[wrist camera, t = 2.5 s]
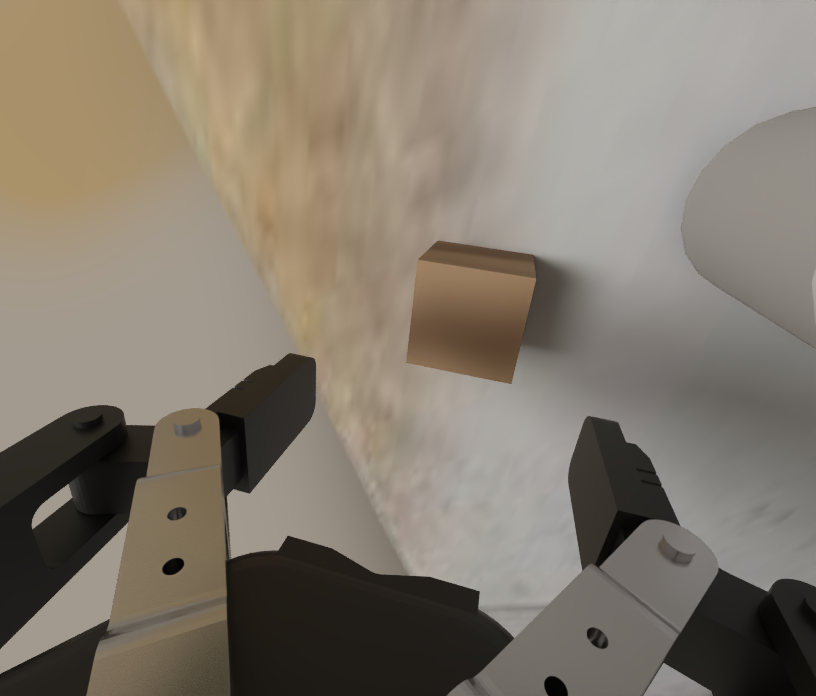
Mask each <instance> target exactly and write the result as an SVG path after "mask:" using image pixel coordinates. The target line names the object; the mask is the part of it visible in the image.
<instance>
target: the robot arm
mask: <svg viewBox="0 0 816 696" xmlns="http://www.w3.org/2000/svg"><path fill="white" fill-rule="evenodd" d="M315 401H316V362H315V359H314V358H311V357H306V356H302V355H297V354H292V353H290V354H288V355H286V356H285V357H284V358H283V359H281V360H280V361H279V362H278V363H276V364H275V365H274V366H273V365H269V366H266V367H263V368H261V369H259V370H256V371H254V372H253V373H251V374H250V375H249V376H248V377H246V378H245V379H244V381H241V382H240V383H238V384H237V385H236V386H235V388H232V389H231V390H229V391H228V392H227V393H225V394H224V395H223V396H222V397H220V398H219V399H218V400H216V401H215V402H214V403H212V404H211V405H210V406H209V407H207V408H206V409H200V408H193V409H185V410H180V411H176V412H174V413H171V414H169V415H167V416H165V417H163V418H162V419H161V420H160V421H159V422H158V423H157V424H156V426H141V425H139V426H138V425H126V422H125V418H124V413H123V411H122V410H121V409H119V408H117V407H114V406H108V405H97V406H90V407H85V408H81V409H78V410H75V411H72V412H70V413H67V414H65V415H63V416H62V417H60V418H58V419H56V420H55V421H53V422H51V423H50V424H48V425H46V426H45V427H43V428H41V429H40V430H38V431H36V432H35V433H33V434H31V435H29V436H28V437H26V438H24V439H23V440H21V441H19V442H18V443H16V444H14V445H12V446H11V447H9V448H7V449H6V450H4V451H2V452H0V649H1V648H2V647H3V646H4V645H5V644H6V643H7V642H8V641H9V640H10V639H11V638H12V637H13V635H15V634H16V632H18V631H19V630H20V629H21V628H22V627H23V626H24V625H25V624H26V623H27V622H28V621H29V620H30V619H31V618H32V617H33V616H34V615H35V614H36V613H37V612H38V611H39V610H40V609H41V608H42V607H43V606H44V605H45V604H46V603H47V602H48V601H49V600H50V599H51V598H52V597H53V596H54V595H55V594H56V593H57V592H58V591H59V590H60V589H61V588H62V587H63V586H64V585H65V584H66V583H67V582H68V581H69V580H70V579H71V578H72V577H73V576H74V575H75V574H76V573H77V572H78V571H79V570H80V569H81V568H82V567H83V566H84V565H85V564H86V563H87V562H89V561H90V560H91V559H92V558H93V557H94V556H95V554H97V553H98V552H99V551H100V550H101V549H102V548H103V547H104V546H105V544H107V543H108V542H109V541H110V540H111V539H112V538H113V537H114V536H115V535H116V534H117V533H118V531H120V530H121V529H122V528H123V527H124V526H125V525H126V524H127V523H128V527H127V532H126V538H125V543H124V548H123V553H122V558H121V564H120V569H119V574H118V579H117V584H116V590H115V595H114V600H113V605H112V610H111V615H110V619H109V620H107V621H105V622H103V623H101V624H99V625H97V626H95V627H93V628H91V629H89V630H87V631H85V632H83V633H81V634H79V635H77V636H75V637H73V638H71V639H69V640H67V641H65V642H63V643H61V644H59V645H57V646H55V647H53V648H51V649H49V650H47V651H45V652H43V653H41V654H39V655H37V656H35V657H33V658H31V659H29V660H27V661H25V662H23V663H21V664H19V665H17V666H15V667H13V668H11V669H10V670H7V671H5V672H3V673H1V674H0V696H643V695H644V693H645V692H646V690H647V689H648V687H649V685H650V684H651V682H652V680H653V679H654V677H655V676H656V674H657V672H658V671H659V669H660V668H661V666H662V664H663V663H665V664H667V665H668V666H670V667H672V668H673V669H675V670H677V671H678V672H680V673H682V674H684V675H685V676H687V677H689V678H690V679H692V680H694V681H695V682H697V683H699V684H700V685H702V686H704V687H705V688H707V689H709V690H711V691H712V694H713V696H816V587H815V586H812V585H810V584H807V583H805V582H802V581H798V580H794V579H780V580H777V581H776V582H775V583H774V584H773V585H772V587H771V588H770V590H769V591H768V592H767V591H765V590H763V589H761V588H758V587H756V586H754V585H752V584H750V583H748V582H746V581H744V580H742V579H739V578H737V577H735V576H733V575H731V574H729V573H727V572H725V571H723V570H722V569H720V568H718V562H717V559H716V557H715V555H714V554H713V552H712V551H711V550H710V548H709V547H708V546H707V545H706V544H705V543H704V542H703V541H702V540H701V539H700V538H698V537H697V536H696V535H694V534H693V533H691V532H690V531H688V530H686V529H685V528H683V527H681V526H680V524H679V522H678V520H677V517H676V515H675V513H674V511H673V509H672V506H671V504H670V502H669V500H668V498H667V495H666V493H665V491H664V489H663V488H662V487H661V485H662V484H661V482H660V480H659V478H658V476H657V475H656V471H655V469H654V467H653V465H652V462H651V460H650V458H649V457H648V456H647V455H646V454H645V453H644V452H643V451H642V450H641V449H640V448H639V447H638V446H637V445H636V444H632V443H627V442H626V441H625V439H624V436H623V434H622V431H621V428H620V426H619V424H618V422H615V421H610V420H606V419H601V418H596V417H591V416H588V417H586V419H585V421H584V423H583V426H582V429H581V432H580V435H579V438H578V441H577V444H576V447H575V450H574V453H573V456H572V459H571V462H570V467H569V474H568V483H569V490H570V496H571V502H572V509H573V515H574V521H575V527H576V534H577V540H578V546H579V552H580V559H581V565H582V572H581V573H580V574H579V575H578V576H577V577H576V578H575V579H574V580H573V581H572V582H571V583H570V584H569V585H568V586H567V587H566V588H565V589H564V590H563V591H562V592H561V593H560V594H559V595H558V596H557V597H556V598H555V599H554V600H553V601H552V602H551V603H550V604H549V605H548V606H547V607H546V608H545V609H544V610H543V611H542V612H541V613H540V614H539V615H538V616H537V617H536V618H534V619H533V620H532V621H531V622H530V623H529V624H528V625H527V626H526V627H525V628H524V629H523V630H522V631H521V632H520V633H519V634H518V635H517V636H516V637H515V638H514V637H513V636H512V635H511V634H510V633H509V632H508V631H507V630H506V629H505V628H503V627H502V626H501V625H500V624H499V623H498V622H497V621H495V620H494V619H492V618H491V617H490V616H488V615H487V614H485V613H484V612H482V611H480V610H479V609H478V604H479V593H480V591H476V590H473V589H470V588H466V587H463V586H459V585H456V584H452V583H449V582H445V581H442V580H439V579H435V578H432V577H422V576H401V575H381V574H375V573H373V572H371V571H369V570H368V569H366V568H364V567H362V566H361V565H359V564H357V563H356V562H354V561H352V560H351V559H349V558H347V557H346V556H344V555H342V554H340V553H339V552H337V551H335V550H334V549H332V548H328V547H325V546H322V545H318V544H315V543H311V542H308V541H304V540H301V539H297V538H294V537H290V536H287V538H286V539H285V541H284V543H283V544H282V546H281V547H280V549H279V551H261V552H255V553H249V554H245V555H242V556H238V557H236V558H233V559H231V550H230V549H231V548H230V532H229V518H228V503H227V495H228V494H229V493H230V492H231V491H232V490H233V489H236V490H239V491H242V492H246V493H250V492H251V491H252V490H253V489H254V487H255V486H256V485H257V484H258V483H259V481H260V480H261V479H262V478H263V477H264V475H265V474H266V473H267V472H268V471H269V469H270V468H271V467H272V466H273V465H274V463H275V462H276V461H277V460H278V459H279V457H280V456H281V455H282V454H283V452H284V451H285V450H286V449H287V447H288V446H289V445H290V444H291V443H292V442H293V440H294V439H295V438H296V437H297V435H298V434H299V433H300V432H301V431H302V429H303V428H304V427H305V426H306V425H307V423H308V422H309V421H310V419H311V417H312V415H313V412H314V408H315ZM67 484H69V487H70V490H71V494H72V497H73V498H71V500H69V501H68V502H67V503H65V504H64V505H63V506H61V507H60V508H59V509H58V510H56V511H55V512H54V513H53V514H52V515H50V516H49V517H48V518H46V519H45V520H44V521H43V522H42V523H40V524H39V525H38V526H36V527H35V528H34V529H33V530H32V525H31V524H32V519H33V516H34V514H35V512H36V511H37V509H38V508H39V507H40V506H41V505H42V503H44V502H45V501H46V500H48V499H49V498H50V497H51V496H53V495H54V494H55V493H57V492H58V491H59V490H60V489H62V488H63V487H65V486H66V485H67Z"/></svg>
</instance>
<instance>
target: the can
mask: <svg viewBox="0 0 816 696" xmlns="http://www.w3.org/2000/svg"><path fill="white" fill-rule="evenodd" d="M681 231H682V237H683V242H684V248H685V253H686V255H687V256H688V258H689V260H690V261H691V263H692V264H693V266H694V267H695V269H696V270H697V272H698V274H700V275H701V276H703V277H704V278H705V279H707V280H708V281H710V282H711V283H712V284H714V285H715V286H717V287H718V288H720V289H721V290H723V291H724V292H726V293H728V294H729V295H731V296H732V297H734V298H735V299H737V300H739V301H740V302H742V303H743V304H745V305H747V306H748V307H750V308H751V309H753V310H755V311H756V312H758V313H759V314H761V315H763V316H764V317H766V318H767V319H769V320H770V321H772V322H774V323H775V324H777V325H778V326H780V327H782V328H783V329H785V330H786V331H788V332H790V333H791V334H793V335H794V336H796V337H798V338H799V339H801V340H802V341H804V342H805V343H807V344H809V345H810V346H812V347H813V348H815V349H816V107H813V108H808V109H803V110H797V111H792V112H789V113H786V114H784V115H781V116H778V117H776V118H773V119H770V120H768V121H765V122H762V123H760V124H757V125H755V126H753V127H752V128H750V129H749V130H748V131H746V132H745V133H743V134H742V135H740V136H739V137H737V138H736V139H734V140H733V141H731V142H730V143H728V144H727V145H725V146H724V147H723V148H722V149H721V150H720V152H719V153H718V154H717V155H716V156H715V157H714V158H713V159H712V160H711V161H710V163H709V164H708V165H707V166H706V167H705V168H704V169H703V170H702V171H701V173H700V174H699V176H698V178H697V180H696V182H695V184H694V186H693V188H692V190H691V192H690V194H689V196H688V198H687V200H686V203H685V209H684V214H683V220H682V226H681Z"/></svg>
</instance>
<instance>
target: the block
mask: <svg viewBox="0 0 816 696" xmlns="http://www.w3.org/2000/svg"><path fill="white" fill-rule="evenodd" d="M535 283H536V272H535V265H534V258H533V255H530V254H523V253H517V252H510V251H503V250H497V249H490V248H483V247H477V246H470V245H463V244H457V243H450V242H443V241H437V242H436V243H435V244H434V245H433V246H432V247H431V248H430V249H429V250H428V251H427V252H426V253H424V254H423V255H422V256H421V257H420V258H419V259H418V263H417V272H416V281H415V290H414V299H413V308H412V317H411V326H410V335H409V344H408V352H407V361H406V363H411V364H416V365H421V366H426V367H430V368H435V369H440V370H445V371H450V372H455V373H460V374H465V375H470V376H475V377H480V378H484V379H489V380H494V381H499V382H504V383H509V384H511V383H512V379H513V375H514V370H515V366H516V362H517V358H518V354H519V350H520V345H521V341H522V337H523V333H524V329H525V324H526V320H527V316H528V312H529V308H530V304H531V299H532V295H533V291H534V287H535Z"/></svg>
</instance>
